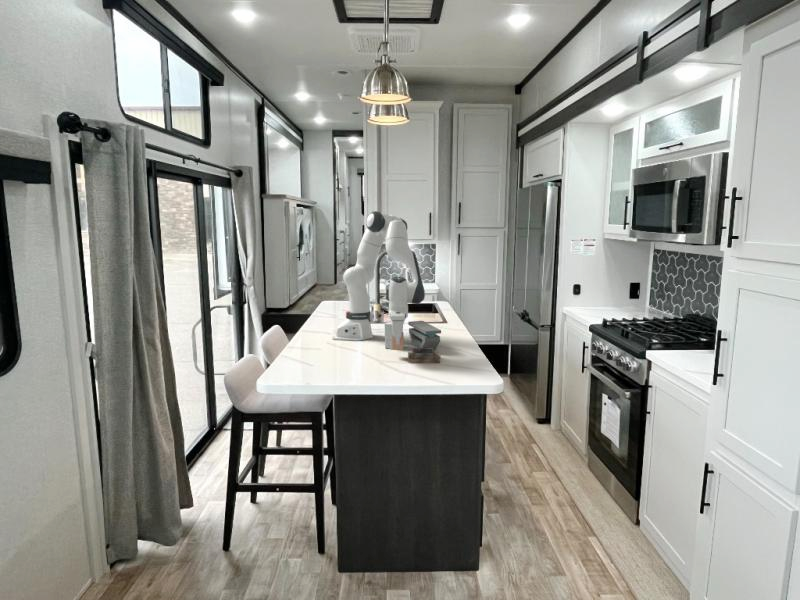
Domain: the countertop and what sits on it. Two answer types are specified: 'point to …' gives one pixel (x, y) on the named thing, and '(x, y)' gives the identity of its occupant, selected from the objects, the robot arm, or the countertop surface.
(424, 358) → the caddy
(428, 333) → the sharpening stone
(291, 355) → the countertop surface
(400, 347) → the block
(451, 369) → the countertop surface
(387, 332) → the supplement box
